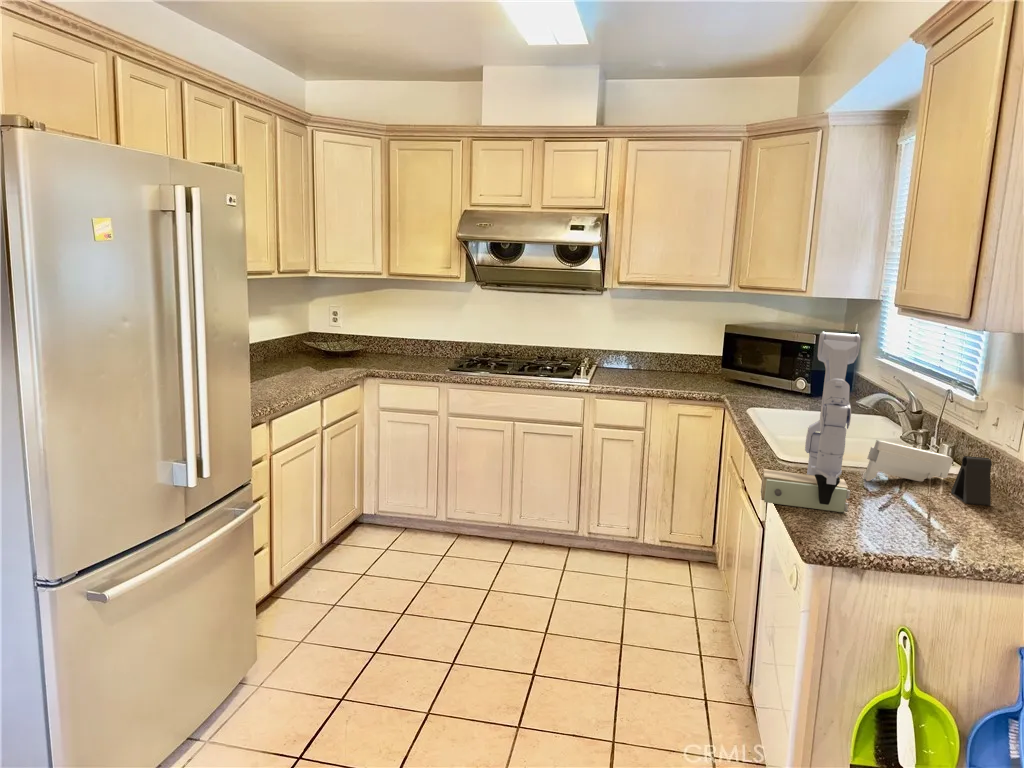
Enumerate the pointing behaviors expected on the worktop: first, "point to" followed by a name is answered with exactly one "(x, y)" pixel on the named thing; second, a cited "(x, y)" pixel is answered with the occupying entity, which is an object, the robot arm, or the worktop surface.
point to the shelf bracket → (906, 462)
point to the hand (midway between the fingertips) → (823, 503)
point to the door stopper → (973, 481)
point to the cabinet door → (804, 495)
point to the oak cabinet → (791, 479)
